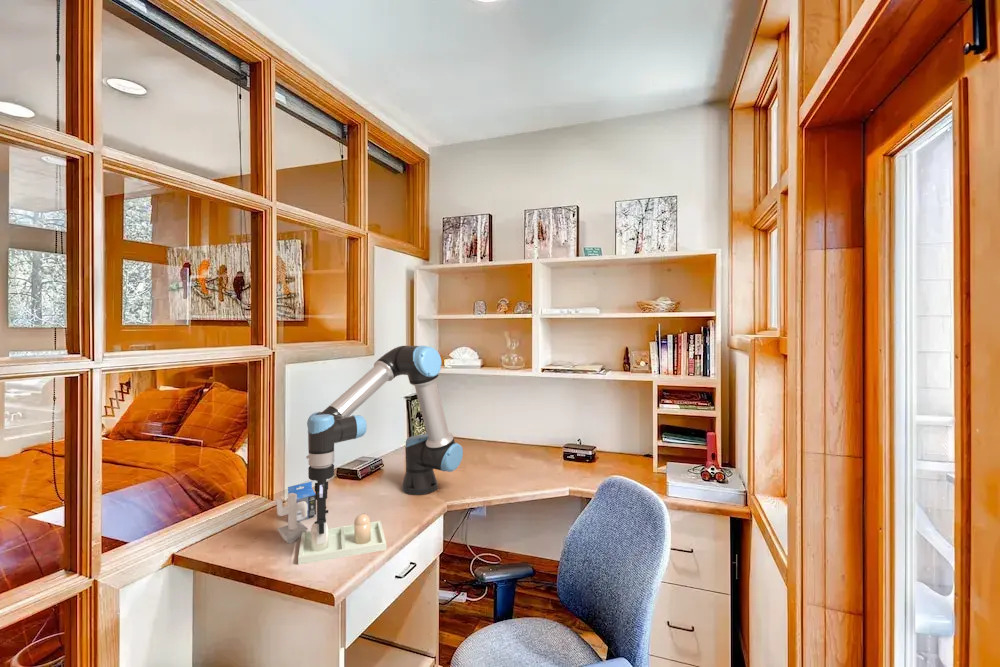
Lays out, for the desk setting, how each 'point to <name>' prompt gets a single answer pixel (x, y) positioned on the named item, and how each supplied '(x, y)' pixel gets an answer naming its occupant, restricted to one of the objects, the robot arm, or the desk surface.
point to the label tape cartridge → (305, 499)
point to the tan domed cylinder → (362, 529)
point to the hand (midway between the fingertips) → (321, 539)
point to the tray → (341, 544)
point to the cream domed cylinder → (314, 544)
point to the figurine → (292, 518)
